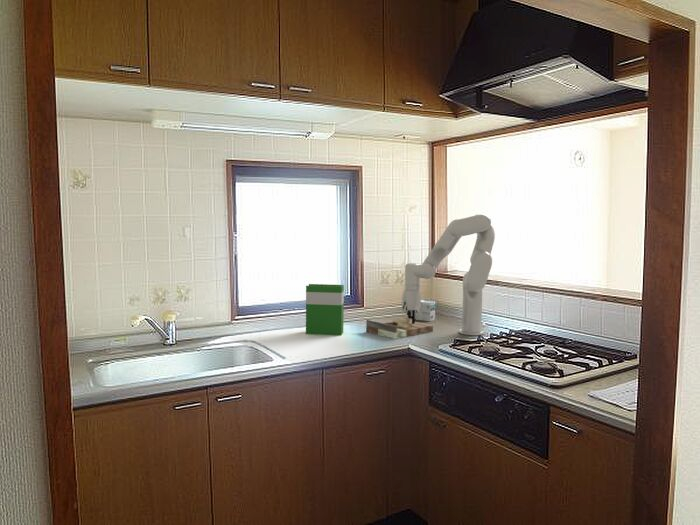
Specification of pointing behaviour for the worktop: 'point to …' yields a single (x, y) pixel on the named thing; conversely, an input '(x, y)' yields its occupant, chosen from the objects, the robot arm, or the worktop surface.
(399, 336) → the board
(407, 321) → the maple block
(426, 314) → the light bulb box
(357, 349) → the worktop surface
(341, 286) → the green cereal box
